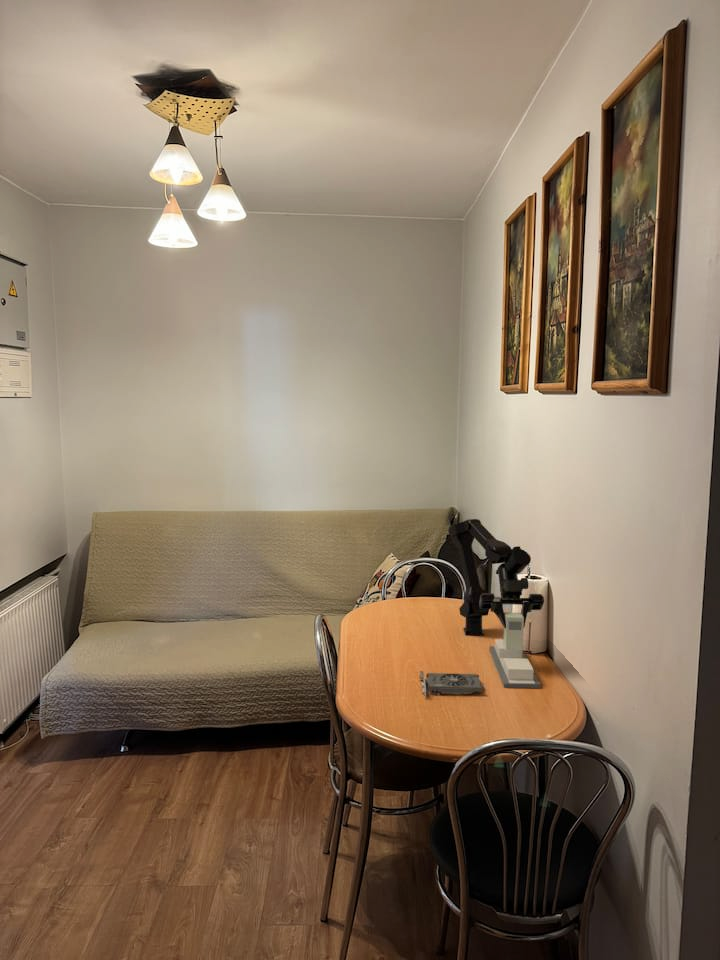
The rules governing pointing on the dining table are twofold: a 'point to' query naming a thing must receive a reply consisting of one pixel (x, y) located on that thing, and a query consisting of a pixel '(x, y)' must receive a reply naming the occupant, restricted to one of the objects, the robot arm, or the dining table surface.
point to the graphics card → (450, 683)
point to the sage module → (513, 631)
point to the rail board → (513, 667)
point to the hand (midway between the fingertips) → (514, 627)
